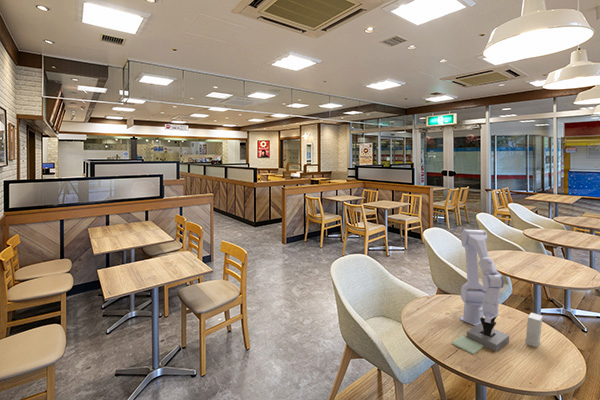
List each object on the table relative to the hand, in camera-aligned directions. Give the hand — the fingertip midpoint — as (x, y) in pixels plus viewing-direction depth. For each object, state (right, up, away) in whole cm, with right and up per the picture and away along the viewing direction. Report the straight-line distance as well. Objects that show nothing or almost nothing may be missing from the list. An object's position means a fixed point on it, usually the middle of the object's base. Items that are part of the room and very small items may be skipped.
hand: (488, 331), depth 135 cm
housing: (0, -4, 0) cm, 4 cm away
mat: (-11, -4, -3) cm, 12 cm away
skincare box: (+18, -4, -1) cm, 19 cm away
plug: (0, -4, 0) cm, 4 cm away
